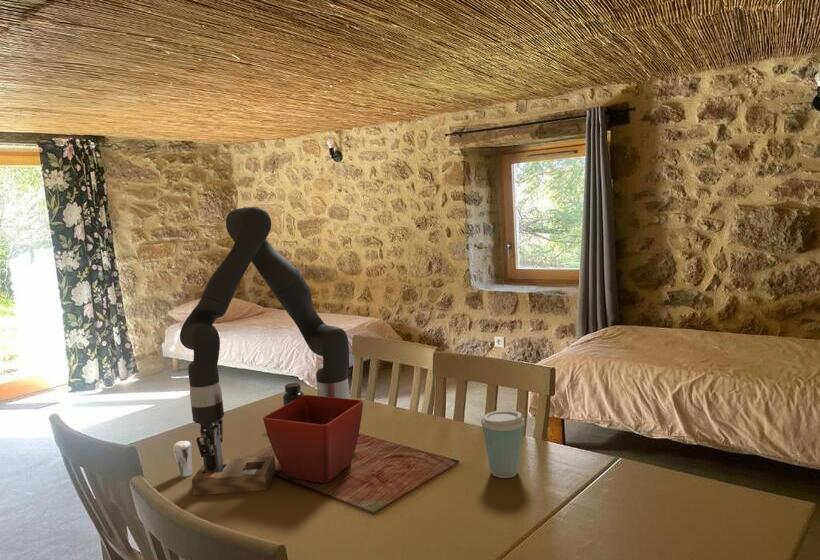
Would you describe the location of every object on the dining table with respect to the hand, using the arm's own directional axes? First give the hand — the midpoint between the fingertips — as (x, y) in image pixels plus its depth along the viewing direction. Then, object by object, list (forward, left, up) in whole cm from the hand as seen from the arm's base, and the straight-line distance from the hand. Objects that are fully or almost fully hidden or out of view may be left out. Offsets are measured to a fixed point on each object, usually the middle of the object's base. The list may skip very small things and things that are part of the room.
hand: (214, 465), depth 154 cm
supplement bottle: (-13, -43, -5) cm, 45 cm away
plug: (0, 0, -3) cm, 3 cm away
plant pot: (-26, -4, -5) cm, 27 cm away
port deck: (-5, 0, -5) cm, 7 cm away
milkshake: (+10, -7, -5) cm, 13 cm away
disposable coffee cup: (-73, +5, -5) cm, 73 cm away
